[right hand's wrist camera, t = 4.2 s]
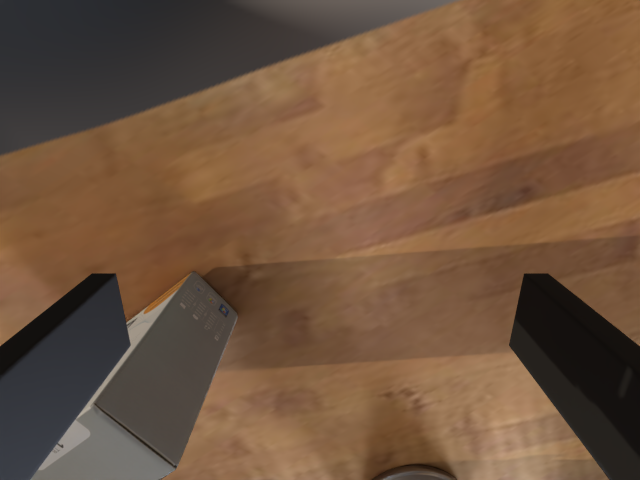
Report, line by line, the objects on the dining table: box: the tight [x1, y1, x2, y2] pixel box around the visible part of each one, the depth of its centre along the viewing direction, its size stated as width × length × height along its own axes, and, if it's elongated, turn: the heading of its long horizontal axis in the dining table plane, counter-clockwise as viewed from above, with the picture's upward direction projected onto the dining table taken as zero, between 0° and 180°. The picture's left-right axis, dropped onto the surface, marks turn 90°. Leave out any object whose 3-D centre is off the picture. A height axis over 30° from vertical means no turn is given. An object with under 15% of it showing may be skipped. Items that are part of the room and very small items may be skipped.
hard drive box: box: [30, 271, 238, 480], centre depth 36 cm, size 16×8×20 cm, turn 128°
